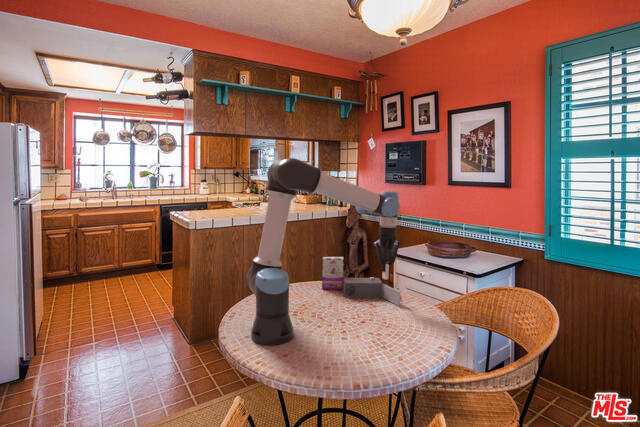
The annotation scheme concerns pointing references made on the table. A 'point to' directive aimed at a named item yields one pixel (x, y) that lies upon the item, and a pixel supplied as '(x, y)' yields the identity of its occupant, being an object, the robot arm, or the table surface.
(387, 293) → the door
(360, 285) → the case
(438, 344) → the table surface
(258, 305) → the robot arm
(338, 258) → the candy bar box
